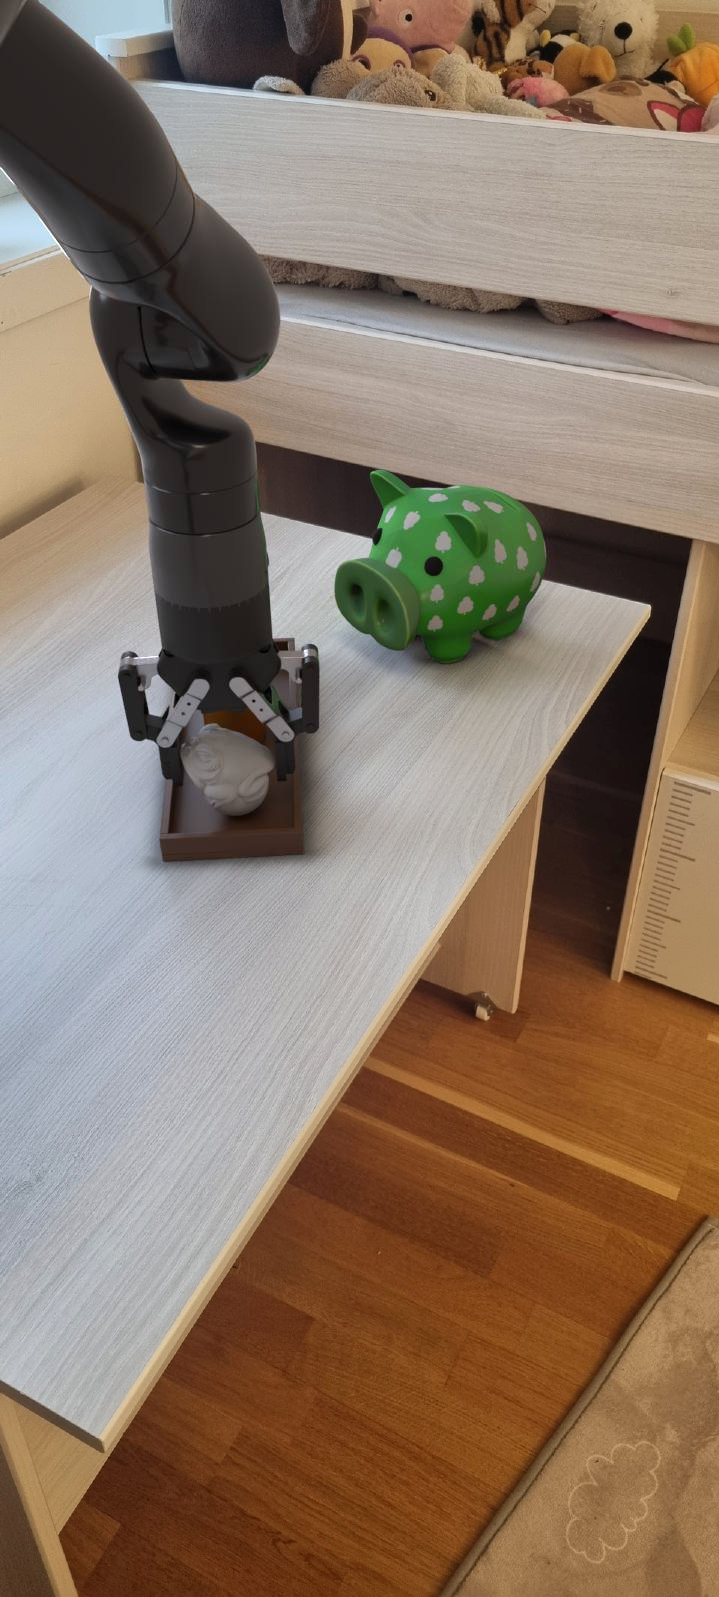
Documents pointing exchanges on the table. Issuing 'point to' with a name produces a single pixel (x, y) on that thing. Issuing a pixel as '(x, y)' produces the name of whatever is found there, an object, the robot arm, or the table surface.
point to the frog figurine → (228, 769)
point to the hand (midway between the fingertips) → (230, 777)
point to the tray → (258, 833)
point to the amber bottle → (238, 723)
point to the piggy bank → (443, 568)
